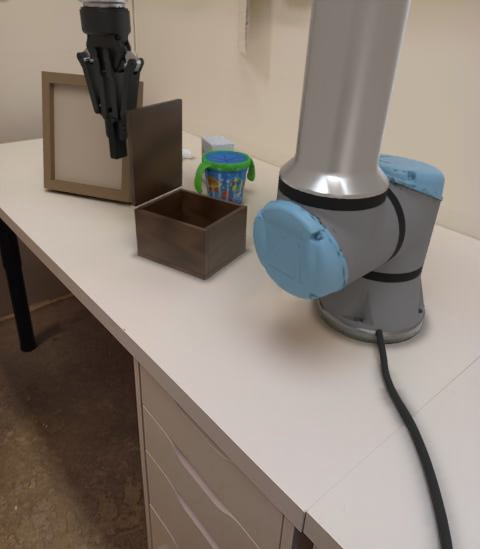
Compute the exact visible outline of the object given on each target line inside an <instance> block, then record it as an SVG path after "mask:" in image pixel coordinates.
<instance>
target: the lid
mask: <svg viewBox="0 0 480 549" xmlns="http://www.w3.org/2000/svg"><path fill="white" fill-rule="evenodd" d="M126 114H127V131H128V147H129V164H130V180H131V196H132V202H131V206H132V207H134V208H138V207H140V206H142V205H144V204H147V203H149V202H151V201H153V200H155V199H158V198H160V197H162V196H164V195H167V194H169V193H171V192H173V191H175V190H178V189H180V188H182V187H183V159H182V149H183V99H182V98H175V99H171V100H166V101H161V102H157V103H153V104H149V105H144V106H143V107H139V108H135V109H130V110H126Z"/></svg>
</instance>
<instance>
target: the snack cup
mask: <svg viewBox="0 0 480 549" xmlns="http://www.w3.org/2000/svg"><path fill="white" fill-rule="evenodd" d="M204 171H205V177H206V182H205V183H206V184H205V185H206V191H207V195H209V196H212V197H216V198H220V199H223V200H227V201H231V202H235V203H238V204H241V202H242V199H243V197H244V191H245V186H246V181H249V182H255V178H256V166H255V161H254V160H253V158H252V157H251V156H250V155H249V154H246V153H244V152H241V151H236V150H234V151H226V150H220V151H211V152H207V153H205V154H203V156H202V155H201V162H200V164H199V165H198V167H197V169H196V171H195V174H194V181H193V188H194V191H195V192H197V193H201V194H203V192H204V190H203V179H202V173H203V172H204Z"/></svg>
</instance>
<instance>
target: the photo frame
mask: <svg viewBox="0 0 480 549" xmlns="http://www.w3.org/2000/svg"><path fill="white" fill-rule="evenodd" d="M40 72H41V109H42V110H41V114H42V115H41V116H42V117H41V118H42V121H41V122H42V157H43V158H42V163H43V164H42V165H43V170H42V171H43V188H44V189H47V190H52V191H58V192H65V193H70V194H75V195H76V194H77V195H82V196H89V197H92V198H93V197H94V198H100V199H105V200H110V201H111V200H112V201H117V202H123V203H132V196H131V180H130V164H129V147H128V138H127V139H126V145H127V156H126V157H123V158H120V159H117V160H116V159H112V158H110V148H109V139H108V137H107V135H106V128H105V120H104V119H103V117H102V115H100V114H96V113H95V112H94V109H93V105H92V102H91V98H90V94H89V91H88V87H87V83H86V80H85V76H84V74H78V73H67V72H55V71H45V70H41V71H40ZM144 83H145V82H144V81H141V80H139V89H138V98H137V108H139V107H143V105H144V85H145V84H144ZM100 106H101V105H100ZM120 113H121V112H120Z"/></svg>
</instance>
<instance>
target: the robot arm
mask: <svg viewBox="0 0 480 549" xmlns="http://www.w3.org/2000/svg"><path fill="white" fill-rule="evenodd" d="M77 1H78V2H79V3H81V4H82V6H80V8H79V18H80V19H79V20H80V26H81V32H82V33H83V34H85V35H86V42H85V47H86V48H85V49H84V50H83V51H79V52H78V51H77V53H76V60H77V61H78V62H79V64H80V67H81V68H82V72H83V75H84V76H85V80H86V83H87V87H88V91H89V94H90V98H91V102H92V105H93V109H94V112H95V113H96V114H100V115H102V117H103V119H104V120H105V128H106V135H107V137H108V139H109V148H110V158H112V159H116V160H117V159H120V158H123V157H126V156H127V145H126V139H127V138H128V131H127V114H126V110H130V109H135V108H137V98H138V89H139V81H140V78H141V72H142V70H143V68H144V66H145V60H144V58H143V57H137V56H136V55H135V54H134V53H133V52H132V45H131V43H130V41H129V36H130V34H131V33H132V25H131V11H130V10H129V8H128V7H126V5H127V4H129V2H130V0H77ZM411 4H412V0H311V9H310V19H309V26H308V34H307V35H308V37H307V47H306V54H305V63H304V72H303V82H302V91H301V101H300V108H299V119H298V127H297V137H296V144H295V145H296V146H295V153H294V156H293V157H291V158H290V159H289V160H288V161H286V162H284V164H283V165H281V167H280V168H279V172H278V181H277V193H276V194H277V195H276V199H275V200H270V201H268V202H267V203H266V204H265V205H264V206H263V208H261V209H260V210H259V211H258V212H257V213H256V215H255V217H254V220H253V225H252V240H253V246H254V250H255V252H256V255H257V258H258V260H259V262H260V264H261V266H262V267H263V268H264V270H265V272H266V274H267V276H269V278H270V279H271V280H272V281H273V282H274V283H275V284H276V285H277V286H278V287H279V288H280V289H281V290H283V291H284V292H285V293H288V294H289V295H291V296H293V297H296V298H298V299H304V300H316V299H317V303H316V304H317V310H318V314H319V315H320V317H321V318H322V320H323V321H324V322H325V323H326V324H327V325H329V326H330V327H331V328H333V329H334V330H335V331H337V332H339V333H341V334H343V335H345V336H347V337H350V338H353V339H356V340H359V341H364V342H369V343H377V348H378V354H379V361H380V369H381V375H382V379H383V382H384V384H385V387H386V389H387V391H388V394H389V396H390V397H391V399H392V401H393V403H394V404H395V407H396V408H397V410H398V411H399V413H400V414H401V416H402V419H403V420H404V422H405V424H406V425H407V428H408V430H409V432H410V434H411V437H412V439H413V442H414V444H415V447H416V449H417V450H416V451H417V452H418V455H419V458H420V461H421V464H422V467H423V471H424V473H425V476H426V480H427V484H428V487H429V491H430V492H429V493H430V495H431V496H430V497H431V500H432V504H433V507H434V512H435V518H436V521H437V526H438V532H439V537H440V538H439V539H440V544H441V549H454V547H453V541H452V540H453V539H452V535H451V530H450V524H449V520H448V516H447V512H446V508H445V504H444V499H443V496H442V492H441V488H440V485H439V483H438V479H437V474H436V471H435V468H434V465H433V463H432V460H431V457H430V454H429V451H428V449H427V445H426V444H425V441H424V439H423V437H422V434H421V432H420V430H419V427H418V425H417V423H416V421H415V420H414V417H413V416H412V414H411V413H410V411H409V409H408V407H407V406H406V404H405V403H404V401H403V399H402V398H401V396H400V394H399V393H398V391H397V389H396V386H395V384H394V382H393V380H392V376H391V374H390V373H391V372H390V370H389V369H390V368H389V360H388V355H387V349H386V344H390V343H399V342H402V341H405V340H406V341H407V340H408V339H410V338H412V337H414V336H415V335H417V333H419V331H420V330H421V328H422V325H423V321H424V318H425V313H426V309H425V302H424V292H423V283H422V282H423V281H422V272H423V268H424V265H425V262H426V258H427V254H428V251H429V247H430V242H431V239H432V235H433V232H434V228H435V225H436V221H437V217H438V214H439V210H440V207H441V203H442V202H443V199H444V196H443V193H444V188H445V183H446V182H445V181H446V179H445V175H444V173H443V172H442V171H441V169H439V168H437V167H436V166H434V165H431V164H429V163H427V162H424V161H421V160H416V159H412V158H409V157H404V156H398V155H394V154H385V153H382V152H381V151H382V146H383V142H384V138H385V131H386V128H387V123H388V118H389V112H390V107H391V102H392V96H393V93H394V88H395V83H396V77H397V73H398V68H399V63H400V58H401V53H402V48H403V44H404V39H405V34H406V29H407V23H408V18H409V14H410V9H411ZM100 105H101V106H100ZM120 112H121V113H120Z"/></svg>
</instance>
